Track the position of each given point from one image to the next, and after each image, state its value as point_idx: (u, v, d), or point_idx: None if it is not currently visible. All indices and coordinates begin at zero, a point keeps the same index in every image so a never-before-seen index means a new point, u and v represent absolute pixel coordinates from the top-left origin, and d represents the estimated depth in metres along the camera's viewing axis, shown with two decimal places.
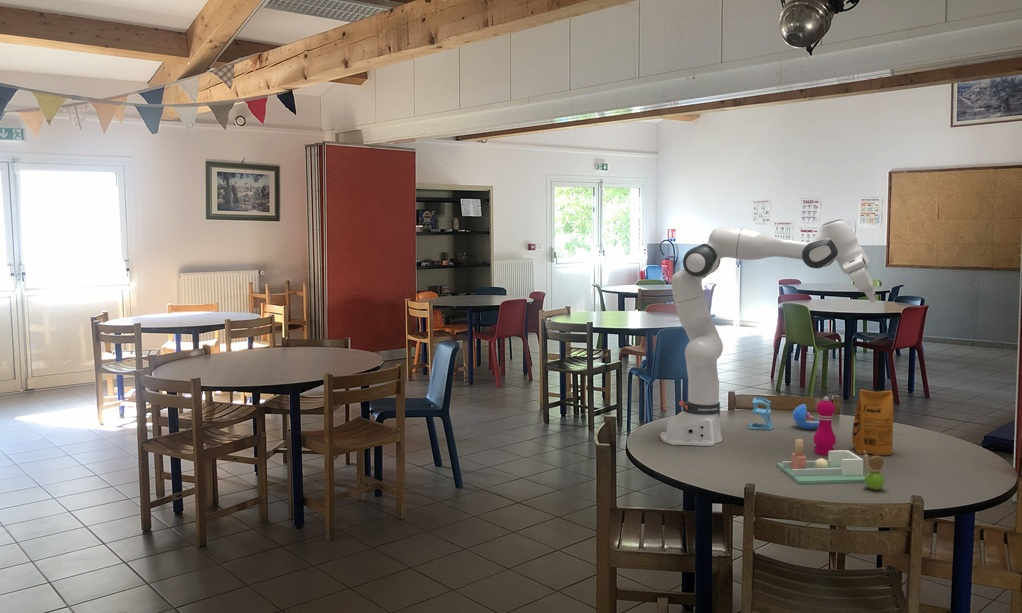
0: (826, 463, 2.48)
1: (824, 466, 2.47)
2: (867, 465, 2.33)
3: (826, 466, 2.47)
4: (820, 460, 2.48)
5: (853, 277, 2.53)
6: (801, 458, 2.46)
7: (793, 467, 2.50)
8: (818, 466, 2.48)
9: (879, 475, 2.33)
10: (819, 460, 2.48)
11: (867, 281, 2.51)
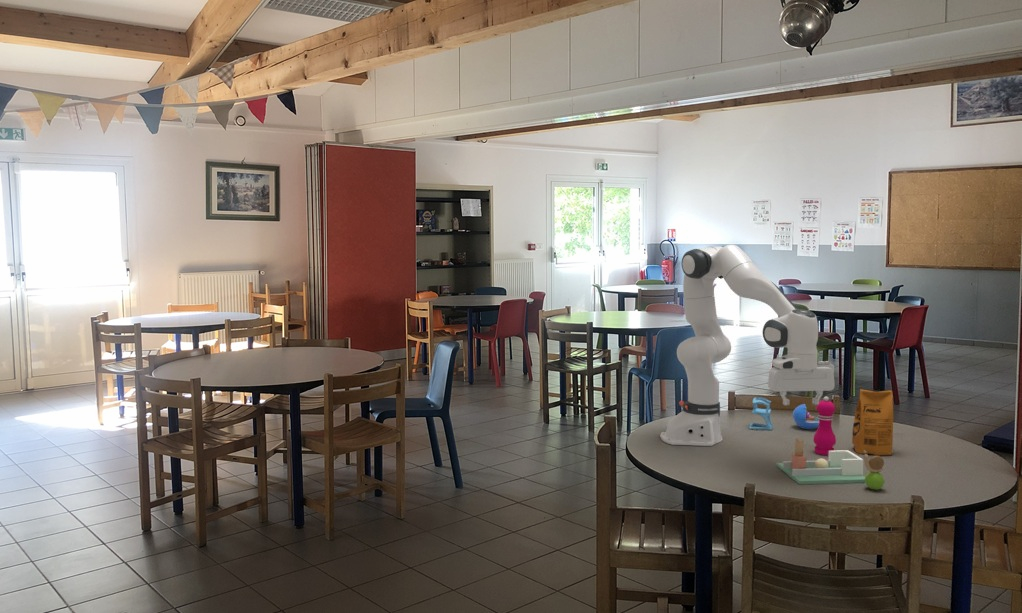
0: (826, 463, 2.48)
1: (824, 466, 2.47)
2: (867, 465, 2.33)
3: (826, 466, 2.47)
4: (820, 460, 2.48)
5: (770, 372, 2.47)
6: (801, 458, 2.46)
7: (793, 467, 2.50)
8: (818, 466, 2.48)
9: (879, 475, 2.33)
10: (819, 460, 2.48)
11: (772, 384, 2.44)
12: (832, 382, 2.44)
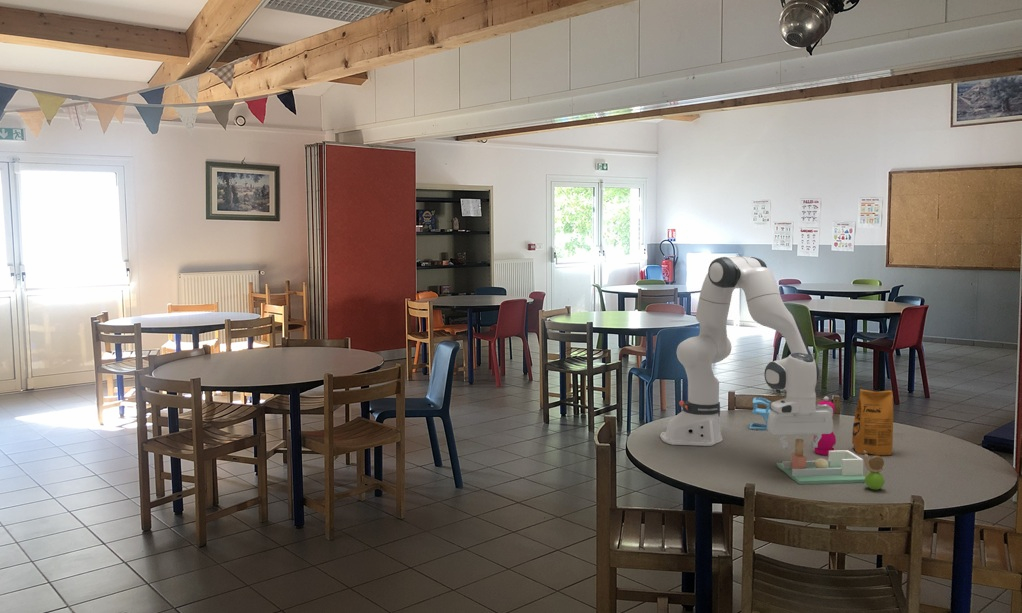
0: (826, 463, 2.48)
1: (824, 466, 2.47)
2: (867, 465, 2.33)
3: (826, 466, 2.47)
4: (820, 460, 2.48)
5: (769, 415, 2.48)
6: (801, 458, 2.46)
7: (793, 467, 2.50)
8: (818, 466, 2.48)
9: (879, 475, 2.33)
10: (819, 460, 2.48)
11: (771, 427, 2.45)
12: (831, 425, 2.46)
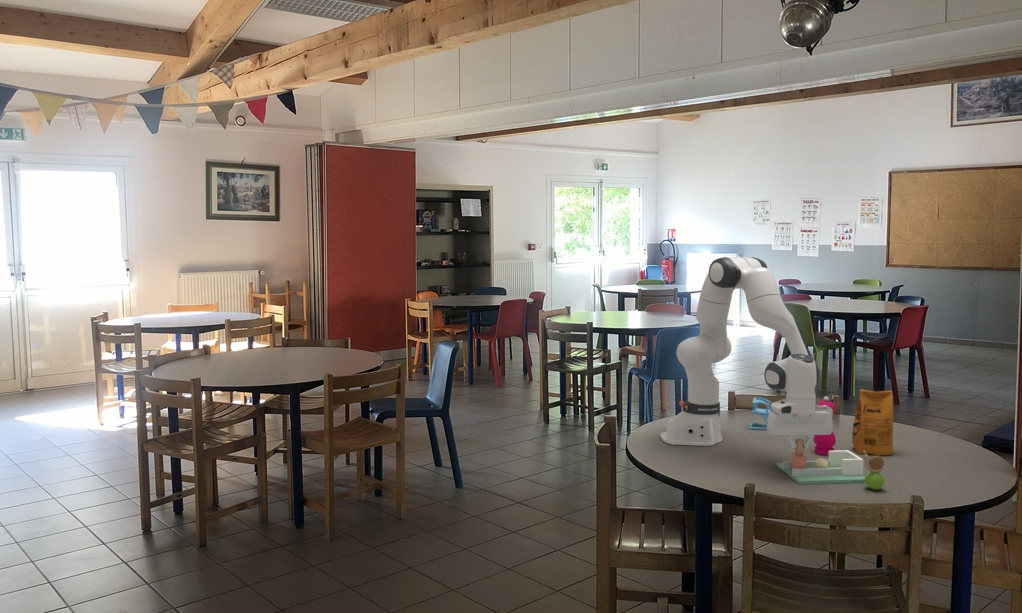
0: (826, 463, 2.48)
1: (824, 466, 2.47)
2: (867, 465, 2.33)
3: (826, 466, 2.47)
4: (820, 460, 2.48)
5: (768, 416, 2.48)
6: (801, 458, 2.46)
7: (793, 467, 2.50)
8: (818, 466, 2.48)
9: (879, 475, 2.33)
10: (819, 460, 2.48)
11: (770, 428, 2.45)
12: (830, 426, 2.46)
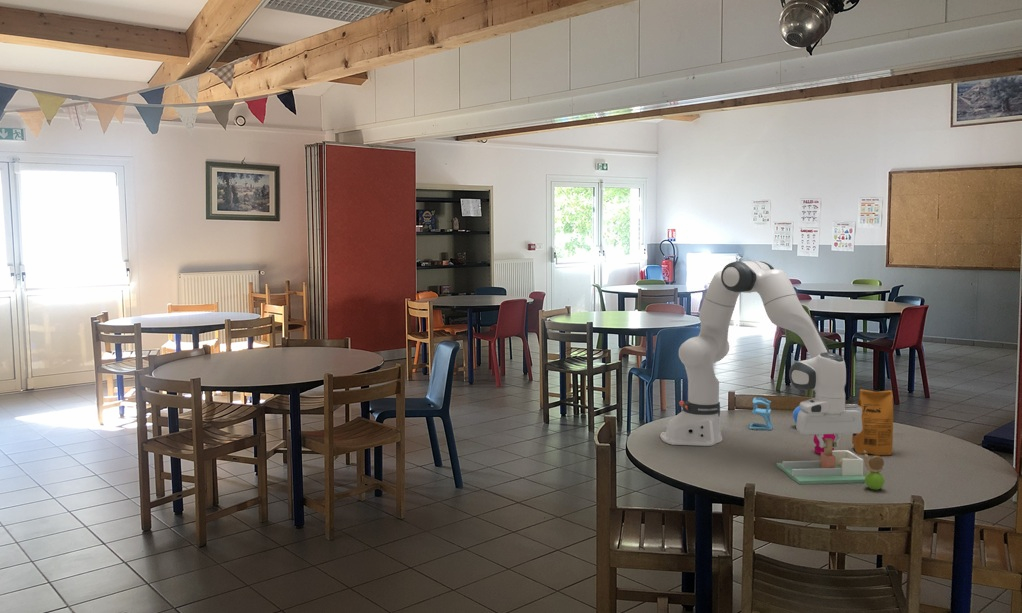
0: None
1: None
2: (867, 465, 2.33)
3: None
4: None
5: (798, 415, 2.48)
6: (830, 457, 2.46)
7: (822, 466, 2.50)
8: None
9: (879, 475, 2.33)
10: None
11: (800, 427, 2.46)
12: (860, 425, 2.46)
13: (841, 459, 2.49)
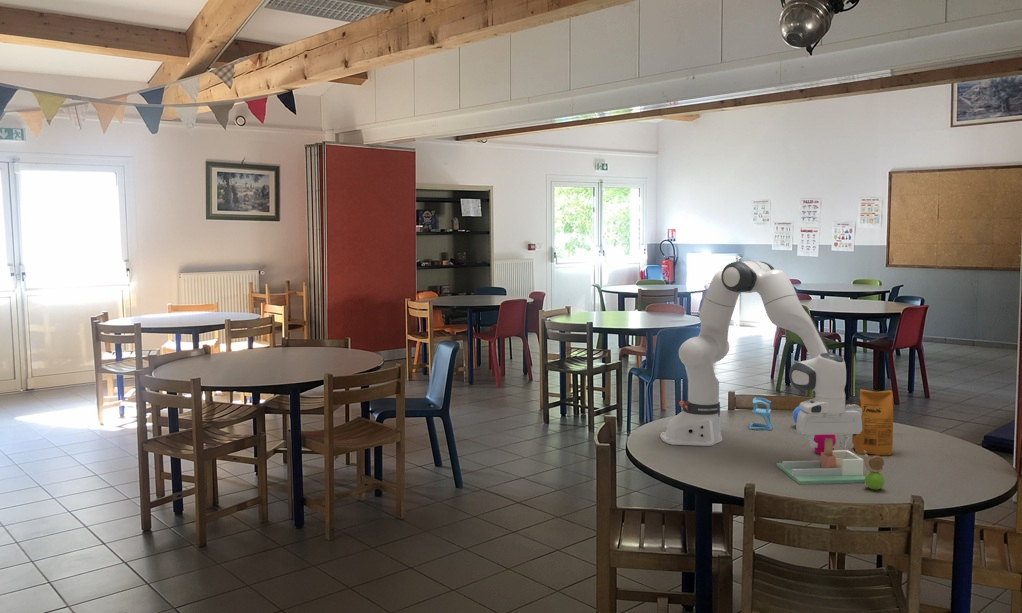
0: None
1: (840, 466, 2.47)
2: (867, 465, 2.33)
3: (838, 467, 2.48)
4: None
5: (798, 415, 2.49)
6: (831, 457, 2.46)
7: (822, 466, 2.50)
8: None
9: (879, 475, 2.33)
10: None
11: (800, 427, 2.46)
12: (860, 425, 2.46)
13: None
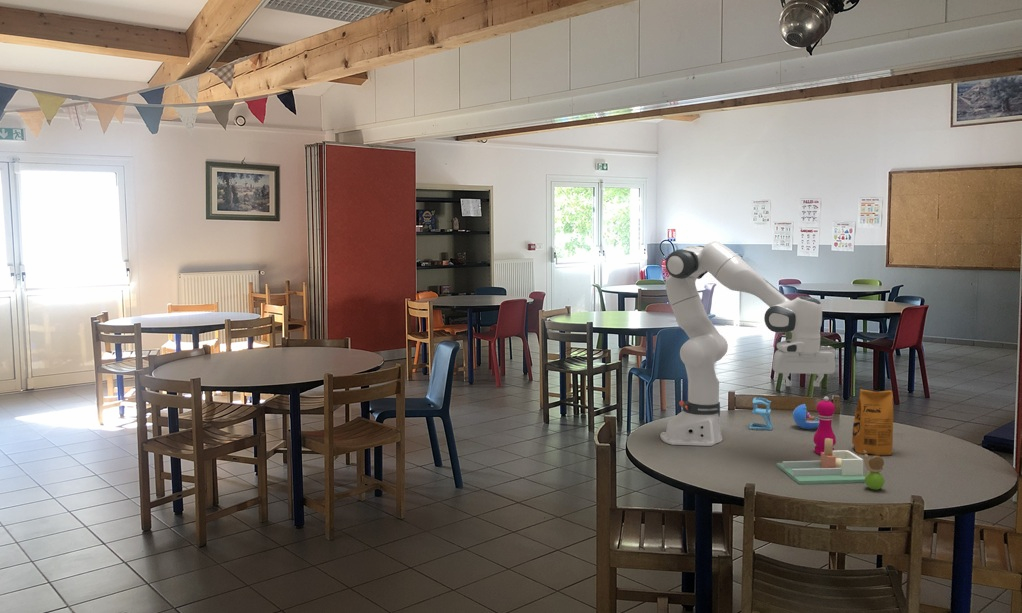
0: None
1: None
2: (867, 465, 2.33)
3: (839, 467, 2.48)
4: None
5: (774, 354, 2.60)
6: (831, 457, 2.46)
7: (822, 466, 2.50)
8: None
9: (879, 475, 2.33)
10: None
11: (776, 365, 2.57)
12: (833, 366, 2.58)
13: None
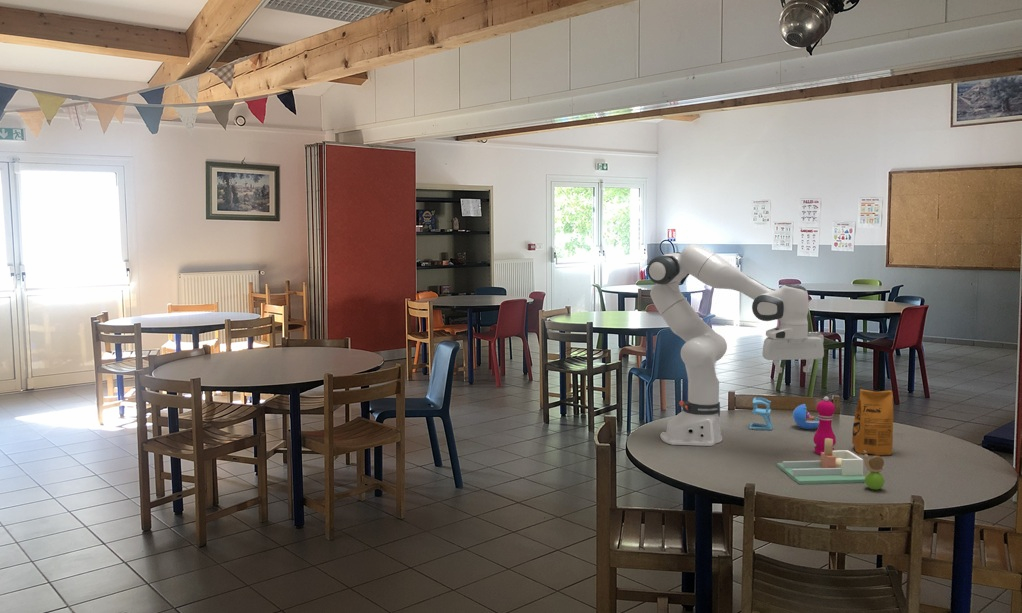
0: None
1: None
2: (867, 465, 2.33)
3: (840, 466, 2.48)
4: None
5: (764, 342, 2.66)
6: (831, 457, 2.46)
7: (822, 466, 2.50)
8: None
9: (879, 475, 2.33)
10: None
11: (766, 352, 2.63)
12: (821, 351, 2.64)
13: None
